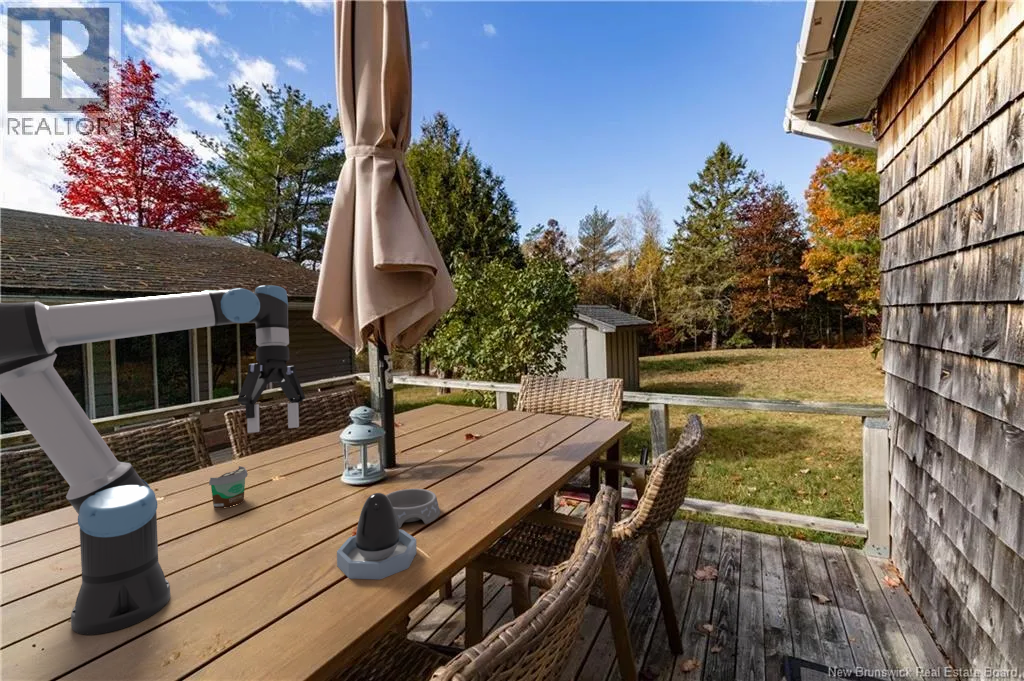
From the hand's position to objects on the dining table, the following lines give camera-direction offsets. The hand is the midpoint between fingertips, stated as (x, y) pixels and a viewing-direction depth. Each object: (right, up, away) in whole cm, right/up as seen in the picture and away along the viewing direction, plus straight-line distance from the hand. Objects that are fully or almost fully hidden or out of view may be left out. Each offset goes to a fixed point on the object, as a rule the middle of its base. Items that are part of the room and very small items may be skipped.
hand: (274, 430), depth 117 cm
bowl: (+27, -30, -5) cm, 41 cm away
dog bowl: (+29, -30, +21) cm, 47 cm away
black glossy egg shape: (+27, -30, -4) cm, 41 cm away
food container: (-28, -29, +30) cm, 50 cm away
